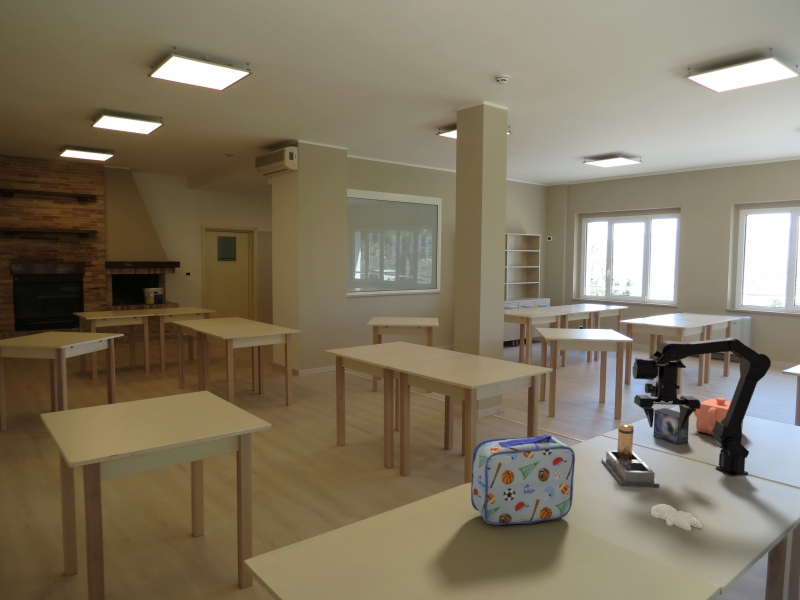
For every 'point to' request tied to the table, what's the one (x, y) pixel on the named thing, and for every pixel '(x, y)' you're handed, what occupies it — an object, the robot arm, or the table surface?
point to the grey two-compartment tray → (630, 470)
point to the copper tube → (625, 441)
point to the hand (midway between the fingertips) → (665, 427)
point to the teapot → (711, 414)
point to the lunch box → (522, 479)
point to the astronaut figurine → (675, 517)
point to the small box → (670, 426)
